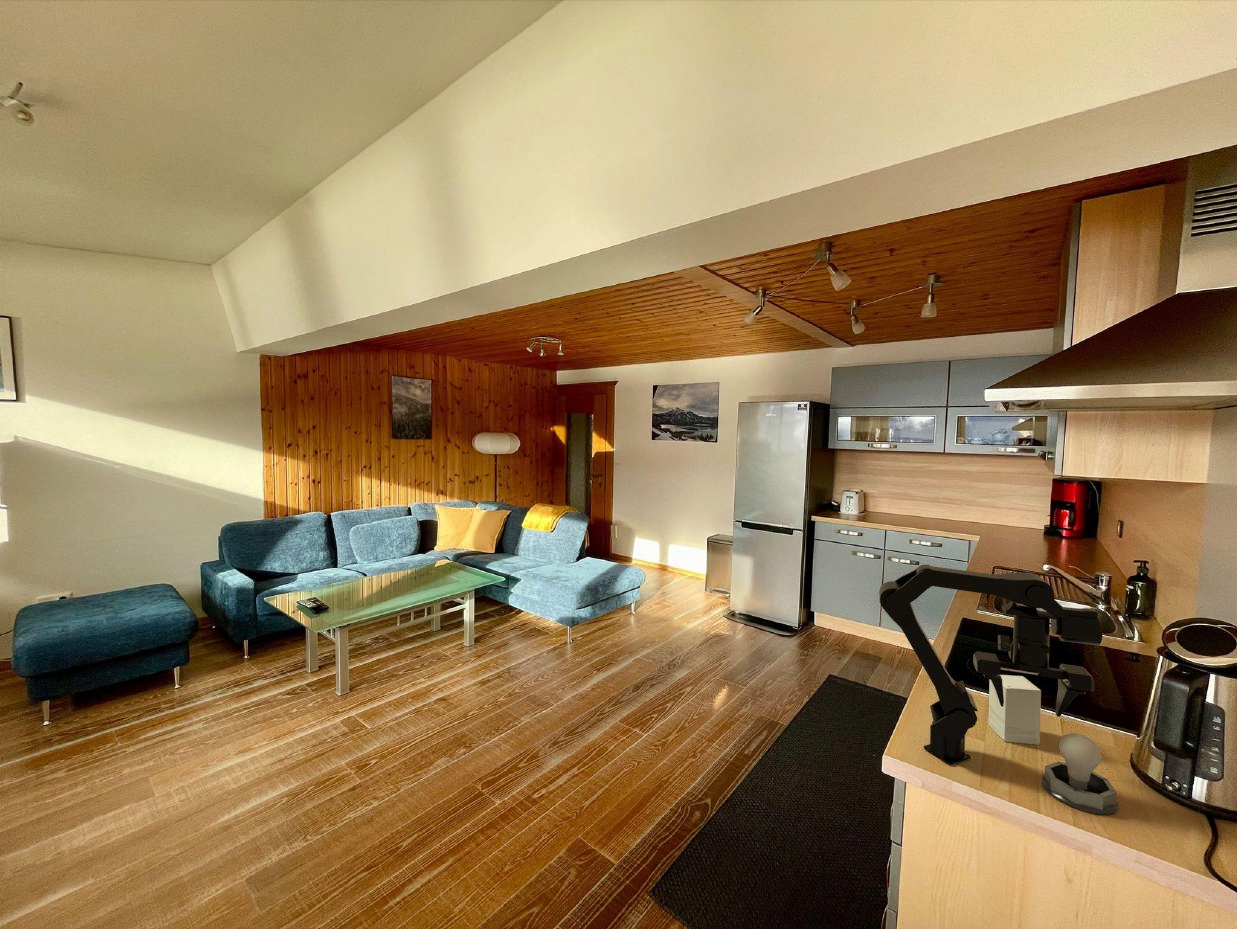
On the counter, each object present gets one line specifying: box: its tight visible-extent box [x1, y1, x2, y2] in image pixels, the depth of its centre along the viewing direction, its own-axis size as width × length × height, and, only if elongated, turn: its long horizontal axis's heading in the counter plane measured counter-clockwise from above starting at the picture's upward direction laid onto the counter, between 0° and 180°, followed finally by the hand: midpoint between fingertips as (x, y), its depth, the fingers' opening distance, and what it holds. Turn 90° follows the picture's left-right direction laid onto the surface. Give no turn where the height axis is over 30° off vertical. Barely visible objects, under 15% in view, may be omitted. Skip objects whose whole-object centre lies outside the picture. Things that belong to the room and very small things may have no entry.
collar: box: [1041, 761, 1119, 816], centre depth 99 cm, size 11×11×3 cm
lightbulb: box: [1058, 732, 1102, 791], centre depth 99 cm, size 6×6×11 cm
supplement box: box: [988, 674, 1042, 746], centre depth 119 cm, size 7×7×13 cm
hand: (1029, 710), depth 106 cm, fingers open, 9 cm apart
